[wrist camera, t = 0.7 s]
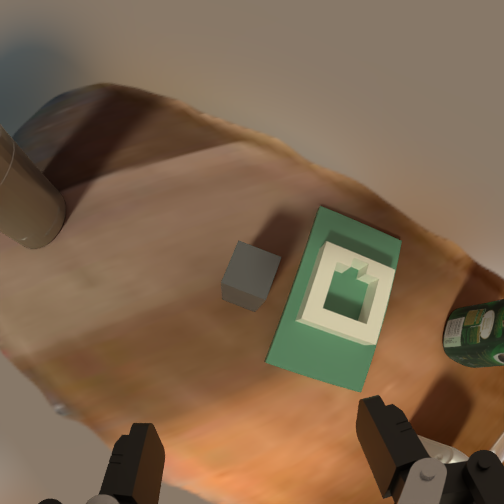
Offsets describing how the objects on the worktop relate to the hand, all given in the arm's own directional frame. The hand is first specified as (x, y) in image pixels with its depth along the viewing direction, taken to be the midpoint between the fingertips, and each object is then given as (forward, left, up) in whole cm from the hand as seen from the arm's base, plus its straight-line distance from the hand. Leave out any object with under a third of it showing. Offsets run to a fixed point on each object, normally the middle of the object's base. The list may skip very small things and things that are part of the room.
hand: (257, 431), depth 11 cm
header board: (+8, +13, -24) cm, 29 cm away
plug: (-3, +10, -24) cm, 26 cm away
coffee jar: (+29, +14, -25) cm, 41 cm away
